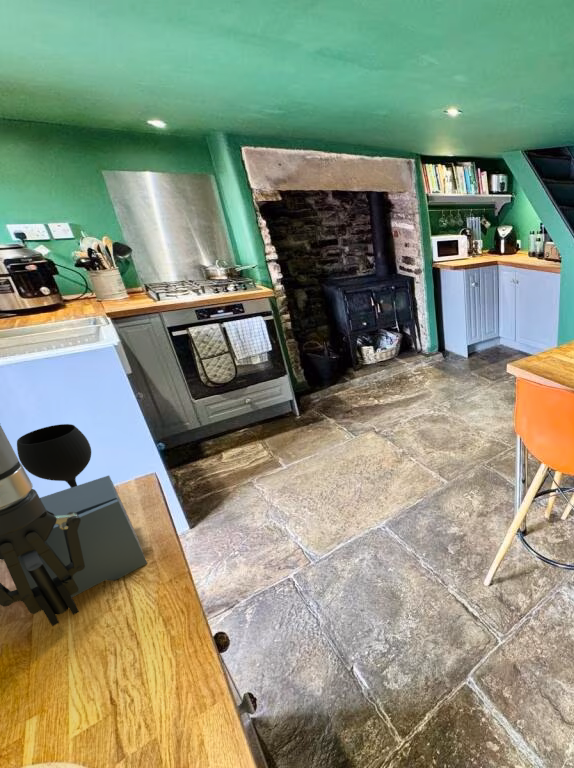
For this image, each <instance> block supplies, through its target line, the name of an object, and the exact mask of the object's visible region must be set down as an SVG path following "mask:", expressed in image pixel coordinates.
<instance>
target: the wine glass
mask: <svg viewBox="0 0 574 768" xmlns="http://www.w3.org/2000/svg"><path fill="white" fill-rule="evenodd" d="M16 450H17V451H16V452H17V457H18V460H19V462H20V463H21V465H22V466H23V468H24V470H25V471H27V472H28V473H30V474H31V475H33V476H34V477H37V478H39V479H43V480H47V481H54V482H55V481H56V482H66V483H67V485H69V488H72V487H75V486H78V483H77V480H76V479H77V477H78V476H79V475H80V474H81V473H83V471H84V470H85V469H86V468H87V467H88V465H89V463H90V461H91V458H92V448H91V444H90V442H89V440H88V438H87V437H86V435H84V433H83V432H82V431H81V430H80V429H79V428H78V427H77V426H75V425H74V424H70V423H62V424H55V425H50V426H45V427H41V428H38V429H35V430H32V431H30V432H28V433H24V434H23V435H22V436H20V437H19V438H18V439H17V440H16Z"/></svg>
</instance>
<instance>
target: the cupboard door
mask: <svg viewBox="0 0 574 768" xmlns="http://www.w3.org/2000/svg"><path fill="white" fill-rule="evenodd" d="M78 516H79V517H80V519H81V521H80V524H79V527H78V530H77V531H78V536H79V540H80V545H81V550H82V554H83V559H84V564H85V568H84V569H83V570H81V571H78V572H76V573H75V574H74V575H73V579H74V581H75V583H76V585H77V587H78V588H79V589H78V592H76V593H74V594H72V595H70V596H71V597H72V598H74V597H76V596H77V595H79V594H81V593H84V592H85V591H87V590H89V589H91V588H93V587H95V586H98V585H99V584H100V583H103V582H105V581H118V580H119V579H121V578H122V577H125V576H126V575H128V574H131V573H133V572H134V571H135V570H138V569H140V568H142V567H144V566H145V565H147V564H148V562H147V558H146V556H145V554H144V555H143V553H144V552H143V553H142V551H143V550H142V551H141V548H142V547H141V548H140V546H139V544H138V542H137V540H136V538H135V536H134V533H133V531H132V529H131V527H130V525H129V523H128V521H127V518H126V516H125V514H124V512H123V510H122V508H121V506H120V503H119V501H118V500H117V499H116V500H113V501H111V502H109V503H106V504H104V505H101V506H99V507H96V508H94V509H92V510H89V511H87V512H84V513H82V514H79V515H78ZM46 542H47V543H48V544H49V546H50V547H51V548H52V550H53V551H54V552H55V553H56V555H57V556H58V557H59V558H60V560H61V561H62V562H63V564H64V565H65V566H67V565H69V564H70V563H71V562H70V558H69V553H68V549H67V544H66V540H65V535H64V531H63V530H62V529H60V528H59V526H58V524H55V525H54V527H53V529H52V531H51V533H50V535H49V537H48V539H47V540H46ZM144 556H145V557H144ZM18 560H19V562H20V564H21V567H22V569H23V571H24V574H25V576H26V579H27V581H28V583H29V586H30V588H31V589H33V588H35V587H37V586H38V588H39V589H40V591H41V592H42V594H43V595H44V597H45V599H46V600H47V602H48V603H49V605H50V607H51V608H52V610H53V611H54V613H55V614H56V616H59V615H62V614H64V613H66V612H67V611H68V610H69V608H68V606H67V604H66V602H65V601H64V599H63V597H62V596H61V594H60V592H59V591H58V589H57V587H56V585H55V583H54V581H53V579H54V578H56V577H57V576H56V574H55V573H54V572H53V571H52V569H51V568H50V567H49V566H48V565H47V563H46V562H45V561H44V560H43V558H42V557H41V556H40V555H39V554H38V553H37V552H36V550H32V551H28V552H25V553H23V554H22V555H20V556H18Z"/></svg>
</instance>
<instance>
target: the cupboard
mask: <svg viewBox="0 0 574 768" xmlns="http://www.w3.org/2000/svg"><path fill="white" fill-rule="evenodd" d="M39 498H40V499H41V501H42V503H43V505H44V507H45V508H46V510H47V511H49V512H51V513H53V514H54V515H55V516H58V515H67V514H68V513H69V512H76V513H77V514H78V515H79V514H82V513H84V512H87V511H89V510H92V509H94V508H96V507H99V506H101V505H104V504H106V503H109V502H111V501H113V500H116V499H117V500H118V501H119V503H120V506H121V508H122V510H123V512H124V514H125V516H126V518H127V521H128V523H129V525H130V527H131V529H132V531H133V533H134V536H135V538H136V540H137V542H138V544H139V546H140V548H141V551H142V553H143V555H144V557H145V558H146V556H145V553H144V551H143V548H142V545H141V543H140V540H139V536H138V535H137V533H136V530H135V528H134V526H133V523H132V522H131V519H130V517H129V515H128V513H127V510H126V509H125V506H124V504H123V502H122V500H121V498H120V496H119V494H118V491H117V489H116V487H115V485H114V482H113V480H112V478H111V476H110V475H106V476H102V477H100V478H97V479H93V480H91V481H88V482H84V483H81V484H77V486H75V487H72V488H71V487H69V488H66V489H63V490H60V491H56V492H54V493H51V494H48V495H45V496H41V497H39Z"/></svg>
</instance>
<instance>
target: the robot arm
mask: <svg viewBox="0 0 574 768" xmlns="http://www.w3.org/2000/svg"><path fill="white" fill-rule="evenodd" d="M30 479H31V478H29V475H28V474H27V472H26V469H25V468H24V466H23V465H22V463H21V462H20V459H19V457H18V455H17V454H16V451H15V450H14V448H13V446H12V444H11V442H10V440H9V438H8V437H7V435H6V432H5V430H4V428H3V427H2V425H1V424H0V560H2V561H4V563H5V566H6V568H7V570H8V572H9V575H10V577H11V579H12V581H13V584H14V586H15V588H16V589H13V590H9V589H8V588H7V587H6V586H5V585H4V584H3V583H2V582H0V606H1V607H3V608H4V607H9V606H12V605H13V604H14V603H17V602H22V603H23V604H24V605H25V607H26V609H27V610H28V612H29V613H30V614H31V615H35V614H37V613H39V612H43V613H44V615H45V617H46V618H47V620H48V621H49V624H50V625H51V626H52V627H54V626H56V625H57V624H59V623H60V621H59V619H58V617H57V615H56V614H55V613H54V611H53V610H52V608H51V607H50V605H49V603H48V602H47V600H46V599H45V597H44V595H43V594H42V592H41V591H40V589H39V588H38V586H37V587H35V588H33V589H31V588H30V586H29V583H28V581H27V579H26V576H25V574H24V571H23V569H22V567H21V564H20V562H19V560H18V556H20V555H22V554H23V553H25V552H28V551H32V550H36V552H37V553H38V554H39V555H40V556H41V557H42V558H43V560H44V561H45V562H46V563H47V565H48V566H49V567H50V568H51V569H52V571H53V572H54V573H55V574H56V576H57V577H56V578H54V579H53V581H54V583H55V585H56V587H57V589H58V591H59V592H60V594H61V596H62V597H63V599H64V601H65V602H66V604H67V606H68V610H69V611H70V612H71V614H72V616H75V615H77V614H78V613H80V610H79V608H78V606H77V605H76V602H75V601H74V599H73V597H71V596H70V595H72V594H74V593H76V592H78V589H79V588H78V587H77V585H76V583H75V581H74V579H73V575H74V574H75V573H76V572H78V571H81V570H83V569H84V568H85V564H84V559H83V554H82V550H81V545H80V540H79V536H78V531H77V530H78V527H79V524H80V521H81V519H80V517H79V516H78V514H77V513H76V512H69V513H68V514H67V515H58V516H55V515H54V514H53V513H51V512H49V511H47V510H46V508H45V507H44V505H43V503H42V501H41V499H40V498H41V497H40V495H39V494H38V492H37V491H36V489H34V488H33V487H34V486H33V482H32V481H31V480H30ZM55 524H58V526H59V528H60V529H62V530H63V531H64V535H65V540H66V544H67V549H68V553H69V558H70V562H71V563H70V564H69V565H67V566H65V565H64V564H63V562H62V561H61V560H60V558H59V557H58V556H57V555H56V553H55V552H54V551H53V550H52V548H51V547H50V546H49V544H48V543H47V542H46V540H47V539H48V537H49V535H50V533H51V531H52V529H53V527H54V525H55Z"/></svg>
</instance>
